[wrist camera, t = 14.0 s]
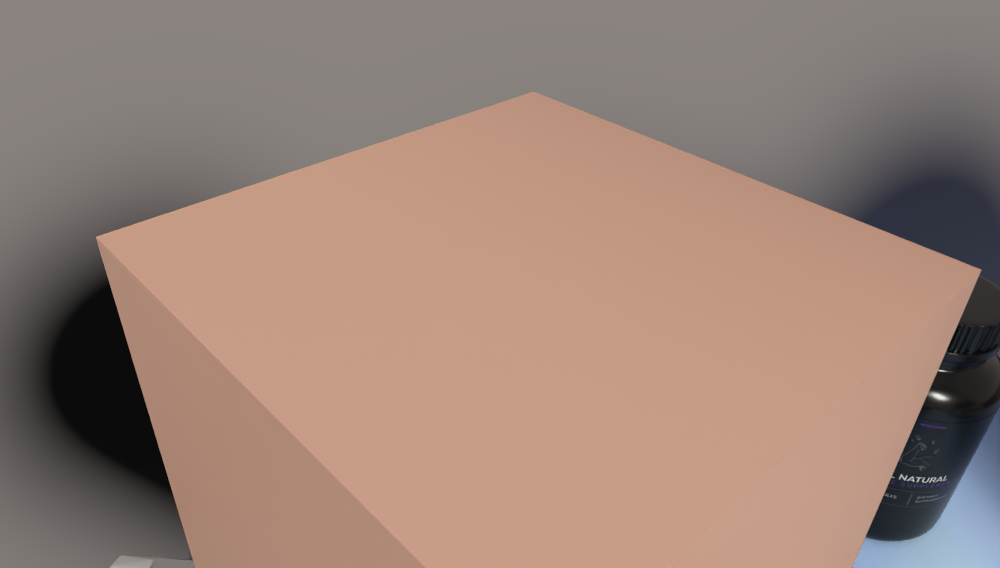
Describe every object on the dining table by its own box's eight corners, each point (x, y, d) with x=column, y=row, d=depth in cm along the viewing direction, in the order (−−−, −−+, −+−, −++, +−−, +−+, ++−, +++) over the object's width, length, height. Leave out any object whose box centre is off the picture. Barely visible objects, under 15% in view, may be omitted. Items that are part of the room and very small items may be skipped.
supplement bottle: (870, 570, 36) (965, 362, 29) (763, 466, 41) (822, 268, 34) (972, 515, 38) (1081, 313, 32) (860, 423, 43) (933, 232, 37)
